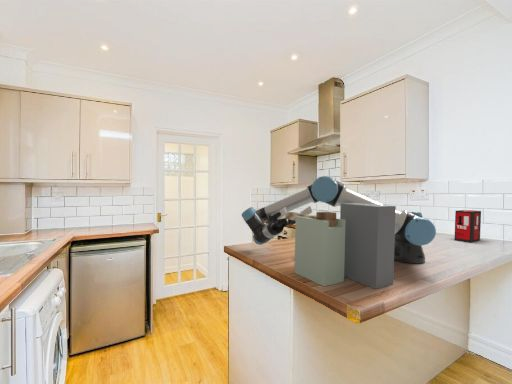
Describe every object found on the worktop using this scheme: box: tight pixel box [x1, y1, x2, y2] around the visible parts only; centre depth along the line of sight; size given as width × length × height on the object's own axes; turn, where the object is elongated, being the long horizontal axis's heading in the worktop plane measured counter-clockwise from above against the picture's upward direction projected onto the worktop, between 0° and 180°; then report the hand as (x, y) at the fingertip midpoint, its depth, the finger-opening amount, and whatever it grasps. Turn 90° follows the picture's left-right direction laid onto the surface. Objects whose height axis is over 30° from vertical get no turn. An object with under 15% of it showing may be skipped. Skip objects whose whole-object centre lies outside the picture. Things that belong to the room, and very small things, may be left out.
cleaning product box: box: [453, 209, 482, 244], centre depth 173 cm, size 16×9×20 cm, turn 124°
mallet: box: [284, 211, 337, 227], centre depth 103 cm, size 25×5×5 cm, turn 31°
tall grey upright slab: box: [339, 203, 397, 290], centre depth 96 cm, size 16×10×28 cm, turn 31°
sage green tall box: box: [293, 214, 346, 287], centre depth 97 cm, size 16×10×22 cm, turn 31°
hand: (298, 209), depth 107 cm, fingers open, 13 cm apart
